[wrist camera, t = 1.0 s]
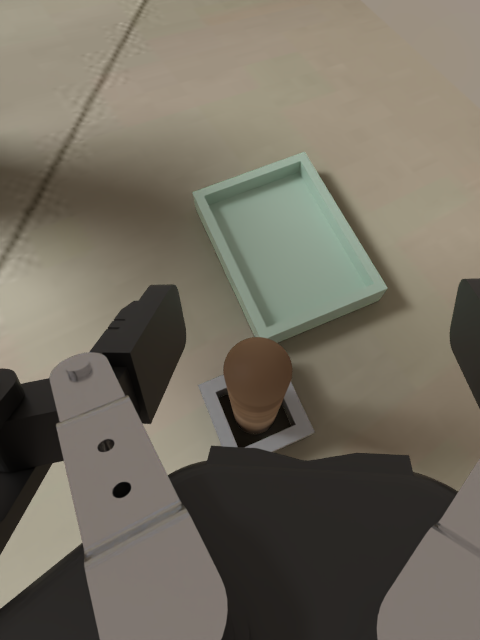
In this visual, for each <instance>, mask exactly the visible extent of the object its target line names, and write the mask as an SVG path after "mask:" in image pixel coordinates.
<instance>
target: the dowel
mask: <svg viewBox="0 0 480 640" xmlns="http://www.w3.org/2000/svg"><path fill="white" fill-rule="evenodd" d="M223 371H224V379H225V383H226V386H227V390H228V394H229V398H230V402H231V406H232V409H233V413H234V417H235V421H236V423H237V425H238V426H239V427H240V428H241V429H242V430H243V431H245V432H247V433H249V434H261V433H263V432H265V431H267V430H268V429H269V428H270V427H271V426H272V424H273V422H274V420H275V418H276V415H277V413H278V410H279V408H280V406H281V403H282V401H283V399H284V396H285V394H286V392H287V389H288V387H289V384H290V382H291V379H292V364H291V360H290V358H289V356H288V354H287V352H286V351H285V350H284V348H283V347H282V346H280V345H279V344H278V343H276V342H275V341H273V340H270V339H267V338H263V337H252V338H248V339H245V340H243V341H241V342H239V343H237V344H236V345H235V346H234V347H233V348H232V349H231V350H230V352H229V353H228V355H227V357H226V359H225V362H224V369H223Z"/></svg>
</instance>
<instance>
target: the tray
mask: <svg viewBox="0 0 480 640" xmlns="http://www.w3.org/2000/svg"><path fill="white" fill-rule="evenodd" d="M192 193H193V198H194V203H195V208H196V211H197V213H198V215H199V217H200V219H201V221H202V224H203V226H204V228H205V230H206V232H207V234H208V237H209V239H210V241H211V243H212V245H213V248H214V250H215V252H216V254H217V256H218V258H219V261H220V263H221V265H222V267H223V269H224V271H225V274H226V276H227V278H228V280H229V282H230V284H231V287H232V289H233V291H234V293H235V295H236V297H237V300H238V302H239V304H240V306H241V308H242V310H243V313H244V315H245V317H246V319H247V321H248V323H249V326H250V328H251V330H252V332H253V334H254V337H263V338H267V339H270V340H273V341H275V342H276V343H278V342H281V341H283V340H285V339H288V338H290V337H293V336H295V335H297V334H300V333H302V332H305V331H307V330H309V329H312V328H314V327H317V326H319V325H321V324H324V323H326V322H329V321H331V320H334V319H336V318H338V317H341V316H343V315H346V314H348V313H350V312H353V311H355V310H358V309H360V308H362V307H365V306H367V305H370V304H372V303H374V302H377V301H379V300H380V298H381V297H382V296H383V294H384V293H385V291H386V290H387V289H388V288H387V286H386V284H385V283H384V281H383V279H382V278H381V276H380V275H379V273H378V271H377V270H376V268H375V266H374V265H373V263H372V261H371V260H370V258H369V257H368V255H367V253H366V252H365V250H364V248H363V247H362V245H361V243H360V242H359V240H358V238H357V237H356V235H355V234H354V232H353V230H352V229H351V227H350V225H349V224H348V222H347V220H346V219H345V217H344V216H343V214H342V212H341V211H340V209H339V207H338V206H337V204H336V202H335V201H334V199H333V197H332V196H331V194H330V193H329V191H328V189H327V188H326V186H325V184H324V183H323V181H322V179H321V178H320V176H319V175H318V173H317V171H316V170H315V168H314V166H313V165H312V163H311V161H310V160H309V158H308V156H307V155H306V153H305V152H302V153H300V154H297V155H294V156H291V157H289V158H286V159H283V160H280V161H277V162H275V163H272V164H269V165H266V166H264V167H261V168H258V169H255V170H252V171H250V172H247V173H244V174H241V175H239V176H236V177H233V178H230V179H227V180H225V181H222V182H219V183H216V184H214V185H211V186H208V187H205V188H202V189H200V190H197V191H194V192H192Z"/></svg>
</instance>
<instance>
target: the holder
mask: <svg viewBox="0 0 480 640" xmlns="http://www.w3.org/2000/svg"><path fill="white" fill-rule="evenodd" d="M198 386H199V389H200V392H201V394H202V397H203V399H204V402H205V404H206V407H207V409H208V412H209V415H210V417H211V420H212V422H213V425H214V427H215V430H216V432H217V435H218V438H219V440H220V443H221V445H222V446H225V447H238V446H237V444H236V441H235V439H234V437H233V434H232V432H231V429H230V427H229V424H228V422H227V419H226V417H225V414H224V412H223V409H222V407H221V404H220V402H219V399H218V398H220V397H222V396H224V395H227V394H228V390H227V386H226V383H225V379H224V374H223V375H221V376H218V377H216V378H214V379H211V380H209V381H207V382H204V383H202V384H199V385H198ZM281 404H282V406H283V409H284V411H285V413H286V415H287V417H288V419H289V422H290V424H291V426H292V427H289V428H287V429H285V430H283V431H280V432H278V433H276V434H274V435H271V436H269V437H267V438H265V439H262V440H260V441H258V442H256V443H253V444H251V445H249V446H247V447H245V448H258V449H262V450H266V451H269V452H275V451H277V450H279V449H281V448H284V447H286V446H288V445H290V444H293V443H295V442H297V441H299V440H301V439H304V438H306V437H308V436H310V435H312V434H313V433H315V431H314V429H313V427H312V425H311V423H310V421H309V419H308V417H307V414H306V412H305V410H304V408H303V406H302V404H301V402H300V400H299V398H298V396H297V393H296V391H295V389H294V387H293V385H292V383H291V382H290V384H289V387H288V389H287V392H286V394H285V396H284V399H283V401H282V403H281Z"/></svg>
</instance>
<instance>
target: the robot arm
mask: <svg viewBox="0 0 480 640" xmlns="http://www.w3.org/2000/svg"><path fill="white" fill-rule="evenodd" d="M185 343H186V328H185V322H184V317H183V312H182V307H181V302H180V297H179V292H178V289H177V287H176V285H150V286H149V287H148V288H147V290H146V291H145V293H144V294H143V295H142V297H141V298H140V300H139V301H133V302H132V303H130V304H129V305H127V306H126V307H125V308H123V309H122V310H121V311H120V312H119V314H118V315H117V316H116V317H115V319H114V321H112V323H111V324H110V325H109V327H108V329H106V331H105V332H104V333H103V335H102V336H101V337H100V339H99V340H98V341H97V343H96V344H95V345H94V347H93V348H92V349H91V351H90V352H89V353H82V354H78V355H74V356H72V357H69V358H67V359H65V360H64V361H62V362H61V363H59V364H58V365H57V366H56V367H55V368H54V369H53V370H52V372H51V374H50V377H49V378H48V379H43V380H38V381H33V382H28V383H23V384H20V382H19V379H18V377H17V375H16V374H15V372H14V371H12V370H10V369H0V554H1V553H2V551H3V549H4V547H5V546H6V544H7V542H8V540H9V539H10V537H11V535H12V533H13V532H14V530H15V528H16V526H17V525H18V523H19V521H20V519H21V518H22V516H23V514H24V512H25V511H26V509H27V507H28V505H29V504H30V502H31V500H32V498H33V497H34V495H35V493H36V491H37V490H38V488H39V486H40V484H41V482H42V481H43V479H44V477H45V475H46V474H47V472H48V470H49V468H50V467H51V465H52V463H55V462H60V461H64V463H65V468H66V472H67V477H68V481H69V485H70V490H71V494H72V499H73V503H74V507H75V512H76V516H77V521H78V525H79V530H80V534H81V538H82V544H80V545H79V546H78V547H77V548H75V549H74V550H73V551H72V552H70V553H69V554H68V555H67V556H65V557H64V558H63V559H62V560H60V561H59V562H58V563H57V564H55V565H54V566H53V567H52V568H51V569H49V570H48V571H47V572H46V573H44V574H43V575H42V576H41V577H39V578H38V579H37V580H36V581H34V582H33V583H32V584H31V585H29V586H28V587H27V588H26V589H25V590H23V591H22V592H21V593H20V594H18V595H17V596H16V597H15V598H13V599H12V600H11V601H10V602H8V603H7V604H6V605H5V606H3V607H2V608H1V609H0V640H480V459H479V461H478V462H477V464H476V465H475V467H474V468H473V470H472V471H471V473H470V475H469V476H468V478H467V479H466V481H465V482H464V484H463V485H462V487H461V489H460V490H459V492H458V491H456V490H454V489H453V488H451V487H449V486H447V485H446V484H444V483H441V482H439V481H437V480H435V479H433V478H430V477H427V476H425V475H422V474H419V473H415V472H413V471H412V466H411V462H410V458H409V455H389V454H368V453H354V454H348V455H341V456H335V457H329V458H323V459H317V460H310V461H304V460H299V459H296V458H292V457H288V456H284V455H281V454H277V453H273V452H269V451H266V450H262V449H258V448H245V447H225V446H211V448H210V452H209V456H208V460H207V461H203V462H198V463H195V464H191V465H189V466H186V467H183V468H181V469H179V470H177V471H175V472H173V473H171V474H169V475H167V473H166V471H165V469H164V467H163V465H162V463H161V461H160V459H159V457H158V455H157V453H156V451H155V449H154V447H153V445H152V443H151V441H150V438H149V436H148V434H147V432H146V430H145V428H144V426H143V424H142V423H144V424H151V422H152V420H153V418H154V415H155V413H156V411H157V409H158V406H159V404H160V402H161V400H162V397H163V395H164V393H165V391H166V388H167V386H168V384H169V381H170V379H171V377H172V375H173V372H174V370H175V368H176V366H177V363H178V361H179V359H180V357H181V354H182V352H183V350H184V347H185ZM450 344H451V348H452V351H453V353H454V355H455V358H456V360H457V362H458V364H459V366H460V368H461V370H462V372H463V374H464V377H465V379H466V381H467V383H468V385H469V387H470V389H471V391H472V394H473V396H474V398H475V400H476V402H477V404H478V406H479V408H480V279H462V280H461V282H460V284H459V287H458V291H457V296H456V302H455V307H454V312H453V317H452V322H451V327H450Z"/></svg>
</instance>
